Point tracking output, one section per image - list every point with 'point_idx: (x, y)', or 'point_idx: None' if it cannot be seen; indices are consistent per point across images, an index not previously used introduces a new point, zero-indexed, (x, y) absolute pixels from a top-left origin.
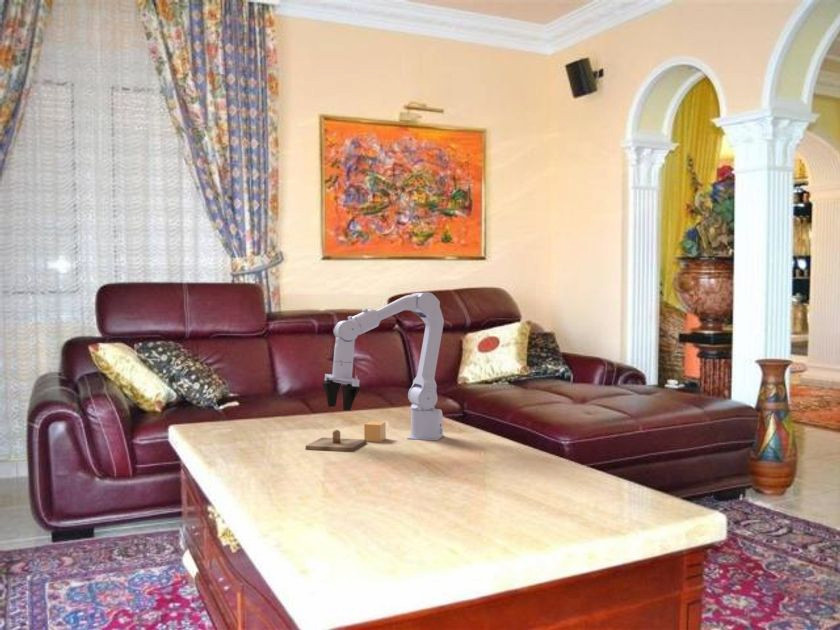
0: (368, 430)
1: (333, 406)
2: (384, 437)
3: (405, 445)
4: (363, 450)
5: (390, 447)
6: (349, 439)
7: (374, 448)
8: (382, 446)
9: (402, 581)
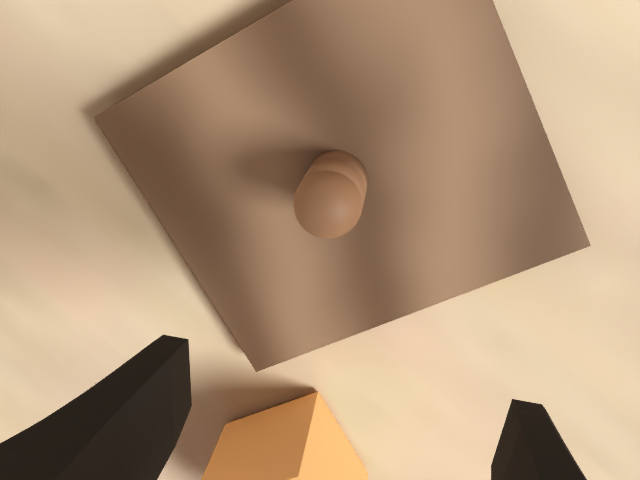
0: (278, 451)
1: (498, 450)
2: None
3: None
4: (110, 201)
5: (73, 354)
6: (350, 314)
7: (113, 284)
8: (128, 350)
9: None
